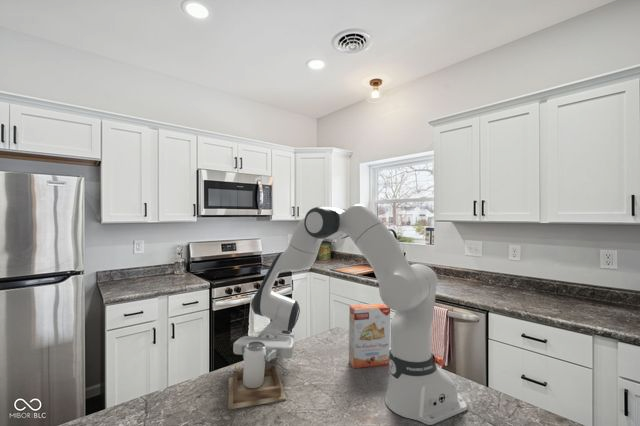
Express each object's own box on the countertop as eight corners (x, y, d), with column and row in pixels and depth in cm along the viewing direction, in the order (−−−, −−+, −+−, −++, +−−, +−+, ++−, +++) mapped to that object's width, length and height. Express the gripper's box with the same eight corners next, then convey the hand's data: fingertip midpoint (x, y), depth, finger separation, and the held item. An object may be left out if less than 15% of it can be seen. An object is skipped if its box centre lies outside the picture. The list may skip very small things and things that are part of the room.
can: (260, 391, 90) (262, 352, 89) (239, 387, 91) (241, 349, 90) (266, 377, 96) (268, 342, 95) (247, 374, 97) (249, 339, 96)
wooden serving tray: (278, 372, 102) (278, 363, 102) (285, 400, 86) (285, 389, 86) (229, 379, 97) (229, 369, 97) (228, 409, 82) (228, 398, 82)
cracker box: (353, 369, 104) (354, 309, 105) (348, 361, 110) (348, 304, 111) (390, 365, 107) (390, 307, 108) (383, 357, 113) (383, 302, 114)
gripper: (242, 329, 107) (224, 345, 94) (298, 333, 104) (287, 350, 91) (242, 346, 107) (224, 365, 94) (297, 351, 104) (287, 371, 90)
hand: (256, 357), depth 92 cm, fingers open, 5 cm apart
